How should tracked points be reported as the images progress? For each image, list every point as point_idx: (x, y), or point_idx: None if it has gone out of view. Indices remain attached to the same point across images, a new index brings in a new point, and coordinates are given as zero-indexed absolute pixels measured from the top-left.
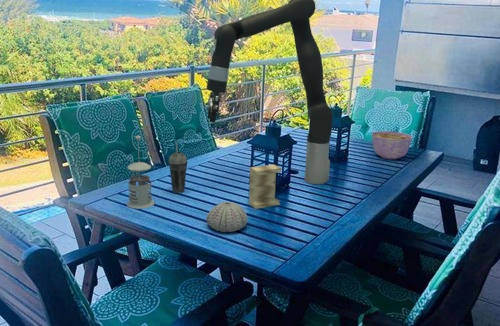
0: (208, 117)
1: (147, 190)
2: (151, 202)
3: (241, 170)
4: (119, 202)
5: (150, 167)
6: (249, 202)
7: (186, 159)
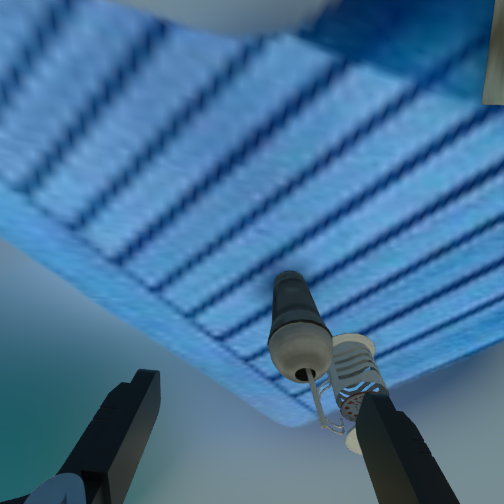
0: (155, 412)
1: (380, 374)
2: (360, 341)
3: (69, 14)
4: (325, 380)
5: None
6: (490, 103)
7: (315, 333)
